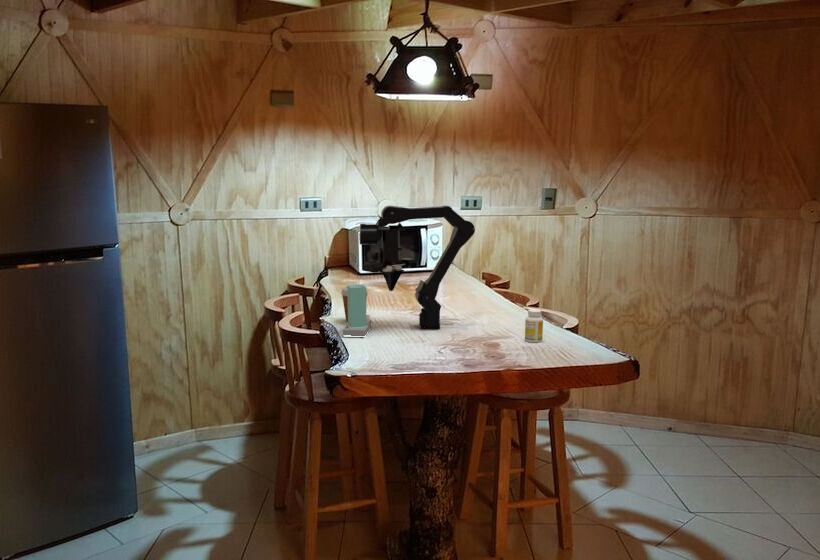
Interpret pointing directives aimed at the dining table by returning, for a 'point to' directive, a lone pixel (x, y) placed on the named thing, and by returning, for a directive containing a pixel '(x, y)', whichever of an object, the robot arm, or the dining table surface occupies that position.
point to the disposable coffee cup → (345, 301)
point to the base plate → (358, 329)
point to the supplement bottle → (533, 326)
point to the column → (356, 305)
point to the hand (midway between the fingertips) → (391, 290)
